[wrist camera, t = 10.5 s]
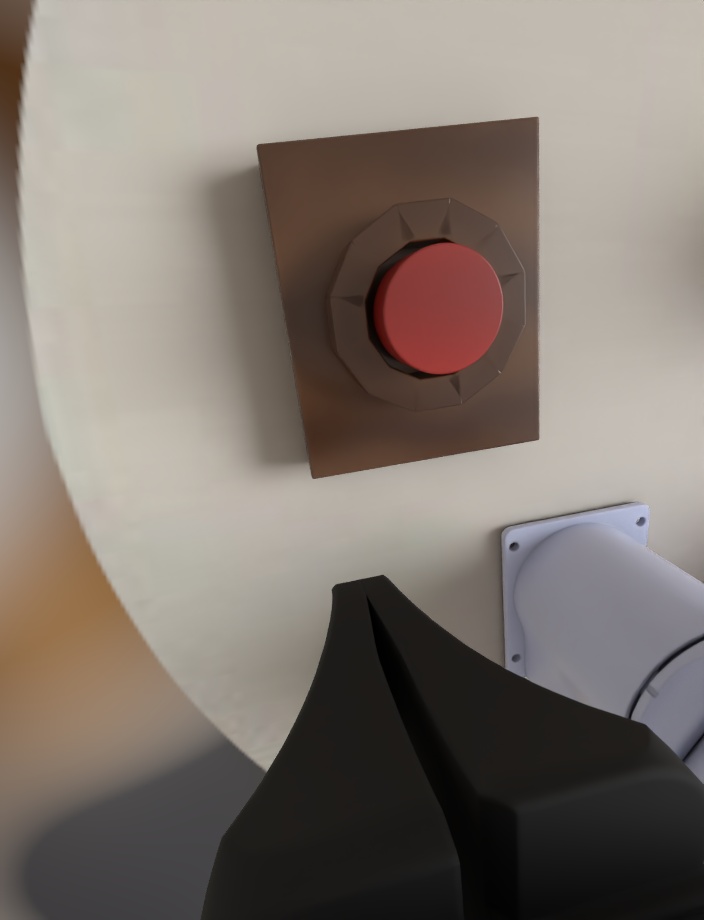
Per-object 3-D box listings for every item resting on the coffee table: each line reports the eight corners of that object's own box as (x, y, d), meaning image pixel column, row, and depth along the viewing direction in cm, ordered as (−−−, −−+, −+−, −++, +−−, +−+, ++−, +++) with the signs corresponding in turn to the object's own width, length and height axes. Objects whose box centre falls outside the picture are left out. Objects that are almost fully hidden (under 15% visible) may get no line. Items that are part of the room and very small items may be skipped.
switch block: (515, 428, 22) (564, 451, 18) (309, 463, 21) (315, 495, 17) (510, 138, 18) (570, 92, 15) (258, 164, 17) (252, 121, 14)
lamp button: (484, 360, 17) (505, 365, 15) (379, 376, 17) (390, 383, 15) (479, 243, 16) (502, 234, 14) (366, 257, 15) (376, 250, 14)
